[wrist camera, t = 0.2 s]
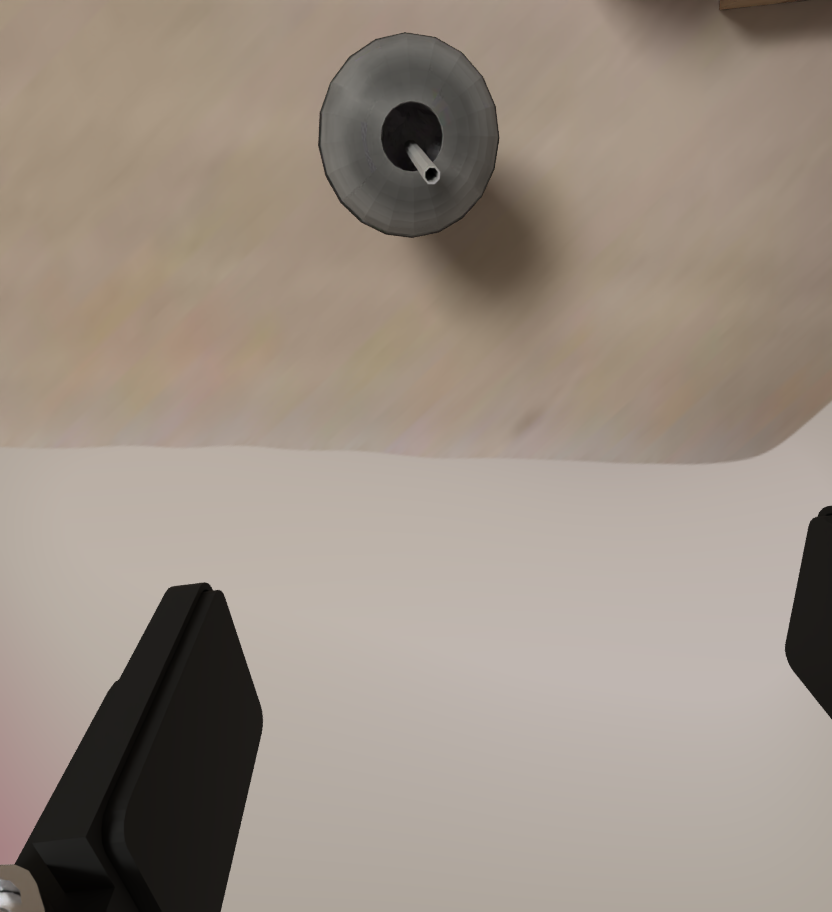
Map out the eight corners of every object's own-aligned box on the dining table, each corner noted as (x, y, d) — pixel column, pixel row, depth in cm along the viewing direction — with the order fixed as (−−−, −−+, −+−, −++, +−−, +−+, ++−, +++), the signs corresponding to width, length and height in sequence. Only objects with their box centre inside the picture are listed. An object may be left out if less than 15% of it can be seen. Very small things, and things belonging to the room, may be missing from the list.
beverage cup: (443, 52, 32) (507, -92, 14) (482, 191, 35) (577, 214, 17) (319, 105, 33) (233, 32, 15) (368, 236, 36) (346, 303, 18)
